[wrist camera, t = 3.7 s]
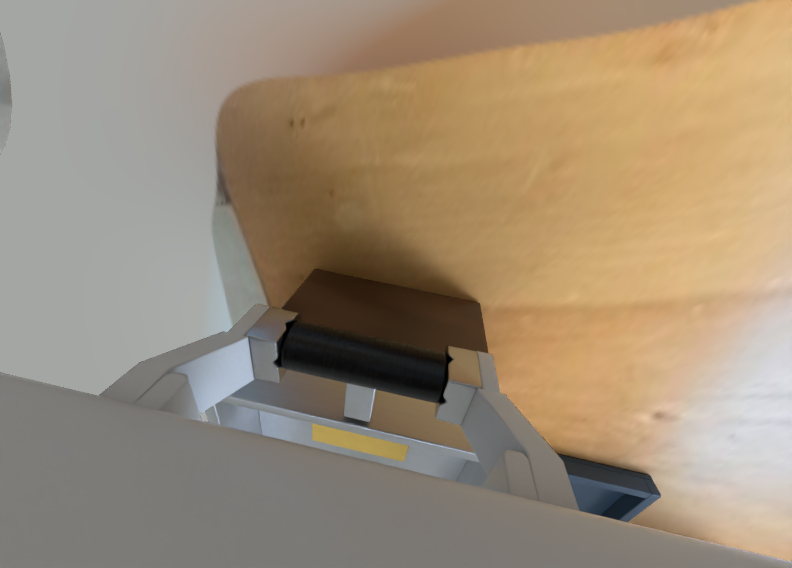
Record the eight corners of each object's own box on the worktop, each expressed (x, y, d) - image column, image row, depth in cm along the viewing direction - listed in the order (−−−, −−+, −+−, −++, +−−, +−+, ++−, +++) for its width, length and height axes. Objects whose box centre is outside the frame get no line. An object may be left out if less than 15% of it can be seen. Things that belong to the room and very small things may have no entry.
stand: (297, 375, 25) (246, 466, 19) (293, 264, 20) (219, 339, 13) (458, 412, 24) (462, 519, 18) (502, 307, 19) (530, 408, 12)
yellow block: (316, 429, 16) (311, 440, 15) (316, 403, 14) (311, 414, 14) (405, 451, 15) (404, 462, 15) (413, 425, 14) (411, 437, 14)
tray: (326, 510, 37) (321, 525, 36) (332, 401, 26) (325, 417, 25) (545, 565, 36) (548, 582, 35) (650, 475, 25) (662, 496, 23)
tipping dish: (269, 492, 21) (242, 550, 18) (234, 267, 12) (165, 317, 9) (433, 533, 21) (431, 600, 18) (540, 331, 11) (572, 407, 8)
